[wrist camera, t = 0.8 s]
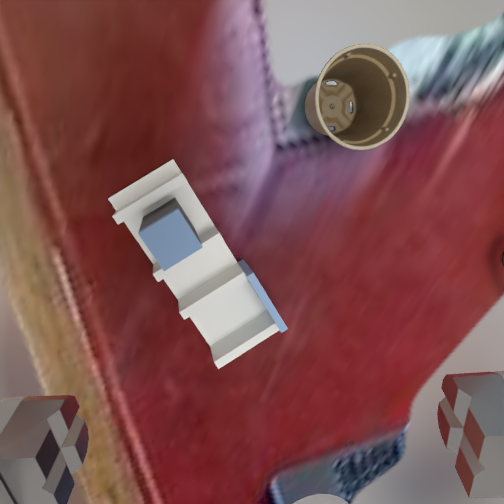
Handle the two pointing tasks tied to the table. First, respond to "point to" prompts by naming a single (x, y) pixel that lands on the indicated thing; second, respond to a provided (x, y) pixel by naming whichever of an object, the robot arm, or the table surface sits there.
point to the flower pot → (359, 97)
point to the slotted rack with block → (202, 269)
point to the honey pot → (321, 499)
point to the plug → (169, 234)
